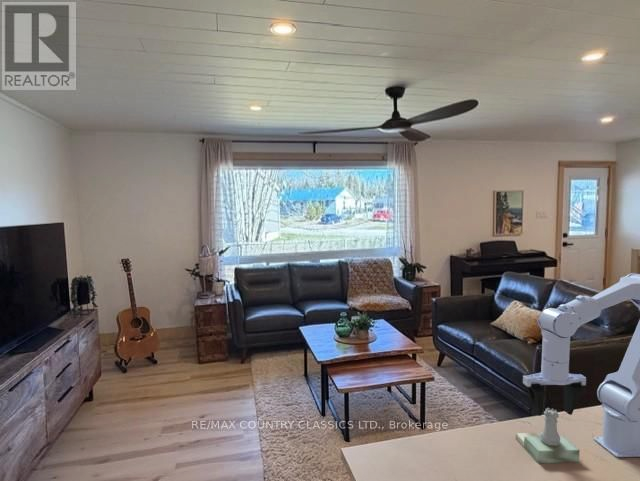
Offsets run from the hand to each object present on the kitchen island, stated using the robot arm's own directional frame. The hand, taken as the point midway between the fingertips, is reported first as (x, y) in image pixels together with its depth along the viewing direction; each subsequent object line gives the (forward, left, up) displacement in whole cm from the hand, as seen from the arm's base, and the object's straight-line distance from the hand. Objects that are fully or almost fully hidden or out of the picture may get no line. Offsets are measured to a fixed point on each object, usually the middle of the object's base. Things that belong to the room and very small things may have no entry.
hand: (552, 413), depth 98 cm
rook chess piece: (0, 0, -8) cm, 8 cm away
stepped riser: (0, -1, -10) cm, 10 cm away
